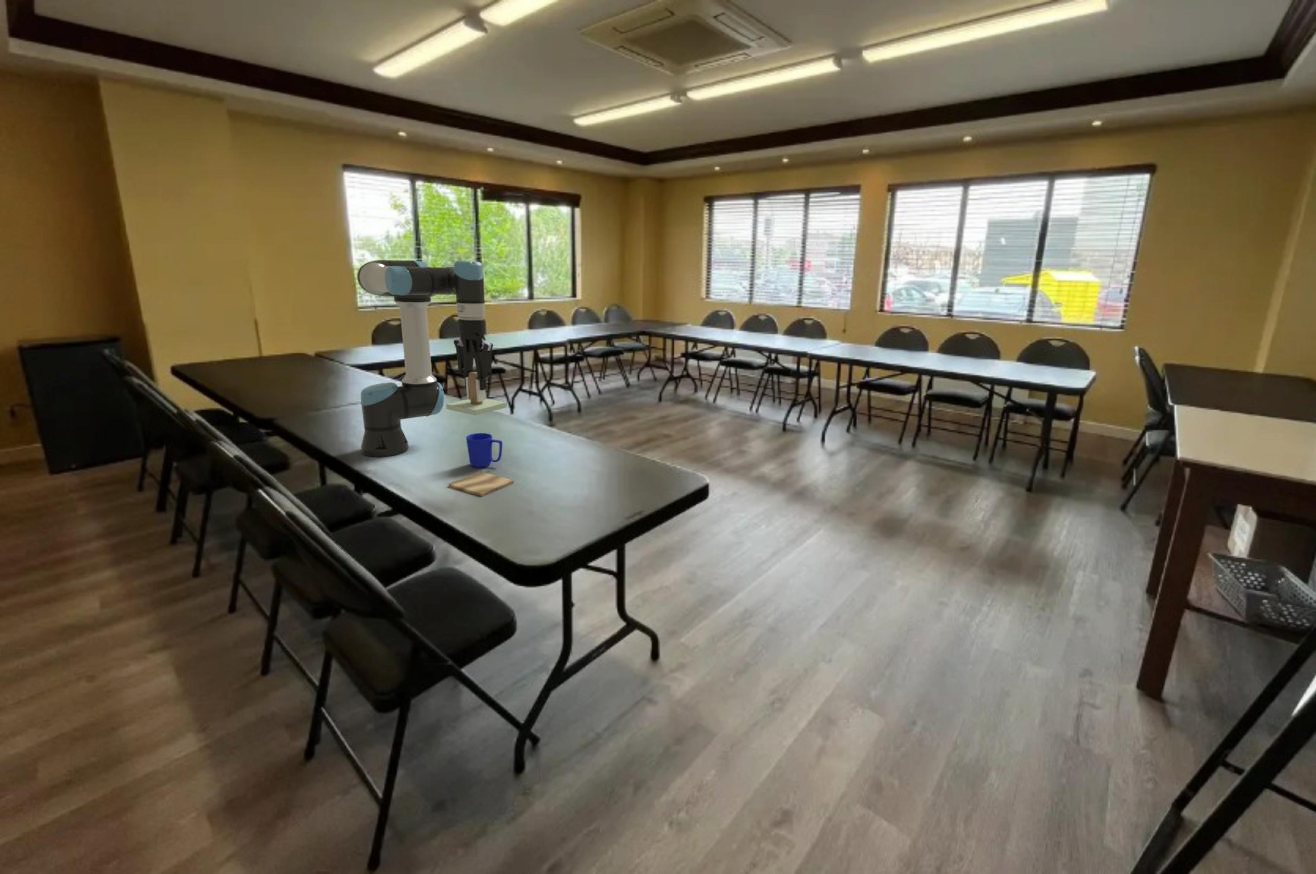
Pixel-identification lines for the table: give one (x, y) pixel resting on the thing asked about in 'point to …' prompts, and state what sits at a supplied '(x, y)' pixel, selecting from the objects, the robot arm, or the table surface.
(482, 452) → the mug
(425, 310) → the robot arm
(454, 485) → the mat
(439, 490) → the table surface
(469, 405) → the lid
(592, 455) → the table surface
